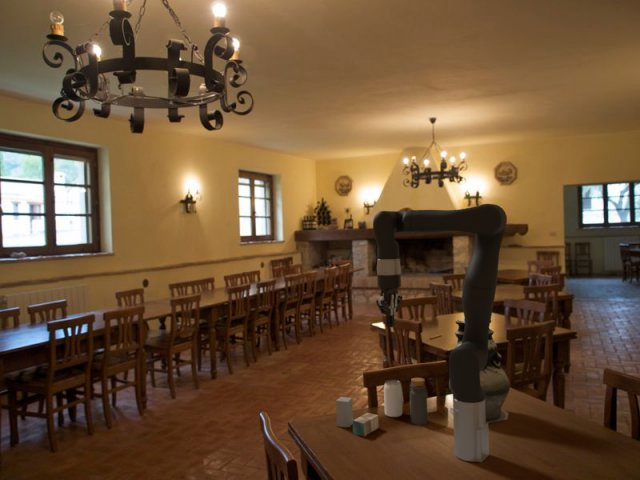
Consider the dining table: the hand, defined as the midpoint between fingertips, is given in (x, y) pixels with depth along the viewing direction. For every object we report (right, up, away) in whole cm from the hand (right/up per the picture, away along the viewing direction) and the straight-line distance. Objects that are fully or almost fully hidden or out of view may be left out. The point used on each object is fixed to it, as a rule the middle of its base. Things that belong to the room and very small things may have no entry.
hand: (390, 326), depth 160 cm
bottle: (+12, -37, +16) cm, 42 cm away
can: (+5, -37, +24) cm, 44 cm away
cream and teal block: (-10, -35, +6) cm, 37 cm away
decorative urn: (+35, -36, +20) cm, 54 cm away
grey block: (-14, -37, +15) cm, 43 cm away
